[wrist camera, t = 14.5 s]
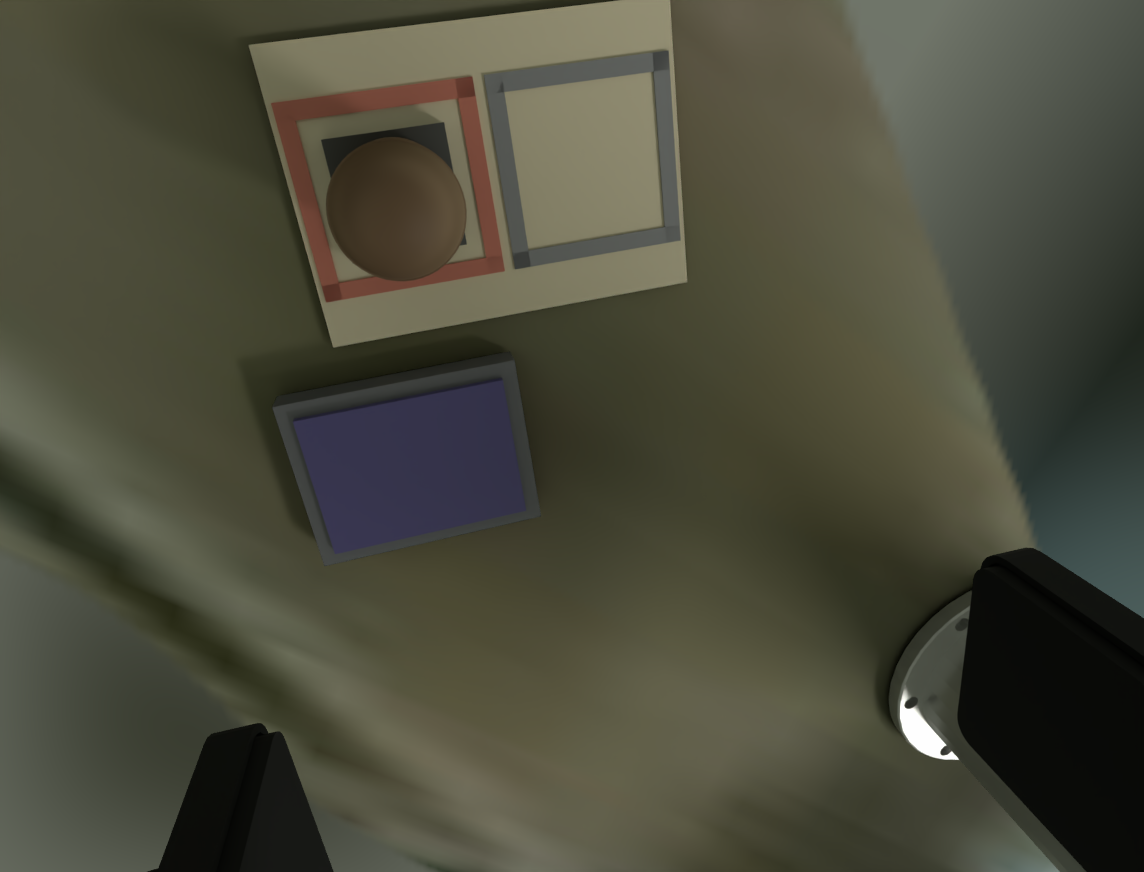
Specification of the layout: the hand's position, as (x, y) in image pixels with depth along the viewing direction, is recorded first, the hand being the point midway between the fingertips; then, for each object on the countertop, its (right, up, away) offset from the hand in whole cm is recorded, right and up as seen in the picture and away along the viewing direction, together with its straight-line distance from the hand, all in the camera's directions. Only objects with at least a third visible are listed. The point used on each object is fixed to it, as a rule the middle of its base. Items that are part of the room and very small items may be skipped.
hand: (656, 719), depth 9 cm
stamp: (-7, +12, +16) cm, 21 cm away
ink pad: (-7, +3, +20) cm, 21 cm away
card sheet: (-4, +13, +16) cm, 21 cm away
